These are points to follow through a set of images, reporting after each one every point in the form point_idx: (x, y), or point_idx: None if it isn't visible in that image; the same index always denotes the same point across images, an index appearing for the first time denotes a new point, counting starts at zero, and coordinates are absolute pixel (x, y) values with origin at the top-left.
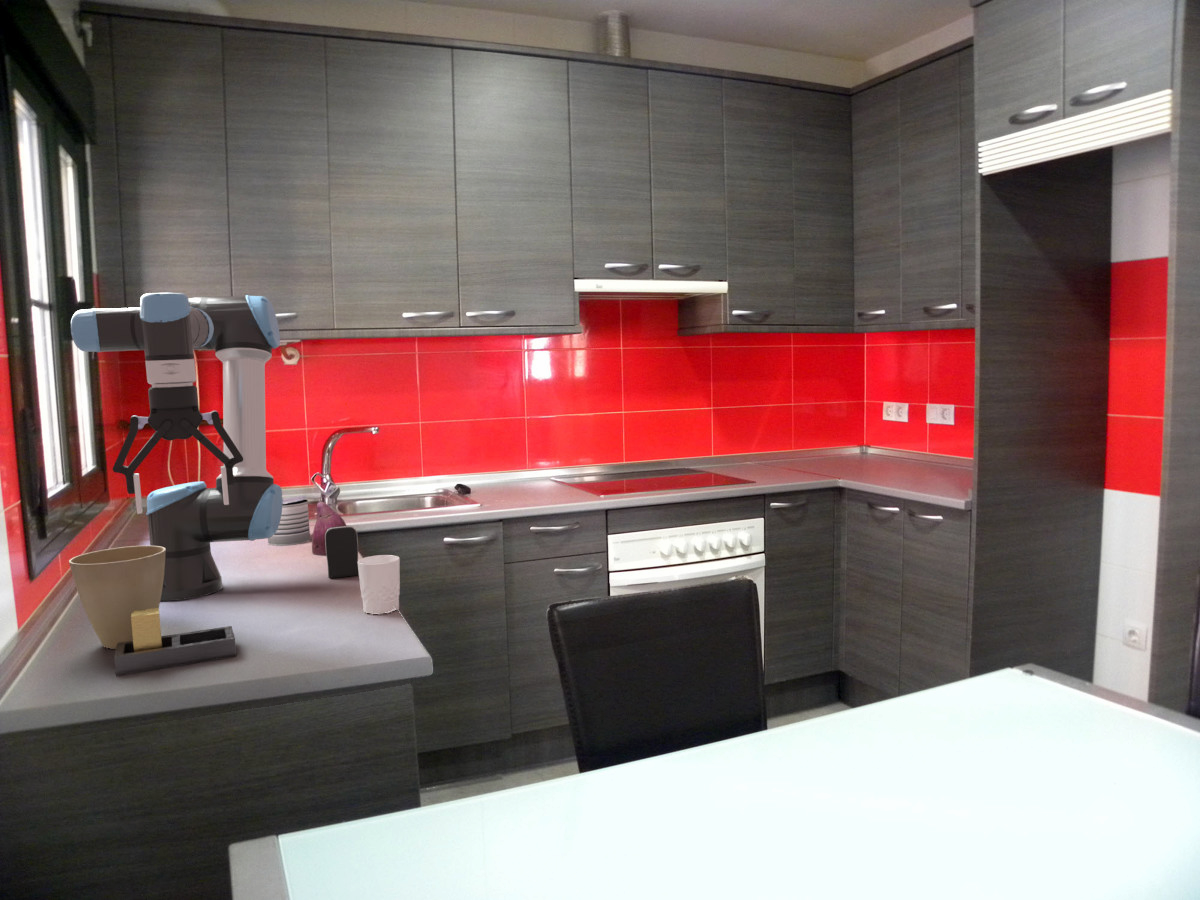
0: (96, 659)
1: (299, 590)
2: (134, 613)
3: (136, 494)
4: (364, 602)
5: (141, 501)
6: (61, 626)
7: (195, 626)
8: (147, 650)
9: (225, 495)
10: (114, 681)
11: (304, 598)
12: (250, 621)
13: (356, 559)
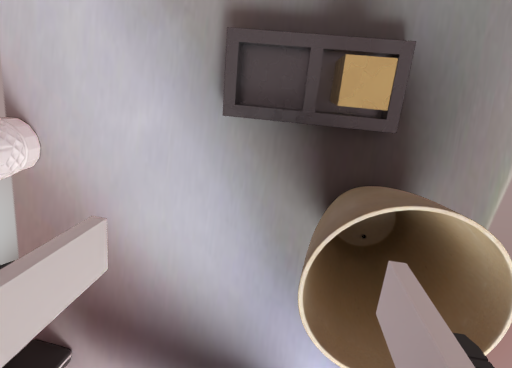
0: (414, 158)
1: (114, 321)
2: (386, 87)
3: (432, 310)
4: (25, 142)
5: (390, 323)
6: None
7: (264, 236)
8: (362, 49)
9: (77, 230)
10: (413, 16)
11: (111, 277)
12: (192, 210)
13: (14, 357)
